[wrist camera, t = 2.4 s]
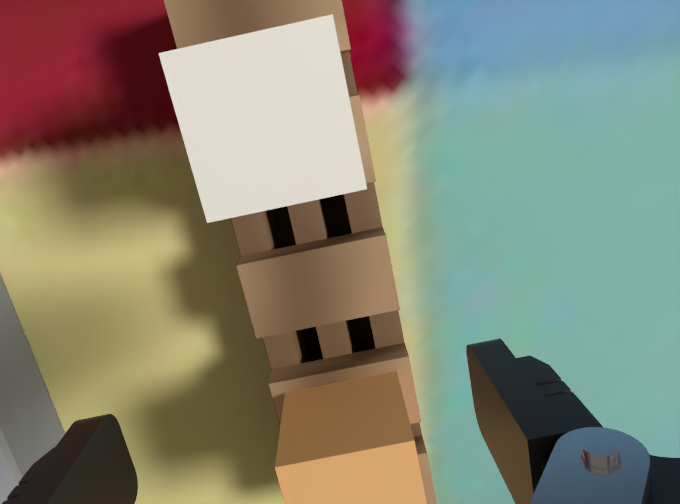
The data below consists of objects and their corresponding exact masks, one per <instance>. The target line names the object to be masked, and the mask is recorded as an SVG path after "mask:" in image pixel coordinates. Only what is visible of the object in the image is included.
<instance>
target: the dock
mask: <svg viewBox="0 0 680 504" xmlns="http://www.w3.org/2000/svg"><path fill="white" fill-rule="evenodd" d="M64 435H65V433H64V430H63V428H62V425H61V423H60V420H59V418H58V416H57V413H56V411H55V408H54V406H53V403H52V401H51V398H50V396H49V393H48V391H47V388H46V386H45V383H44V381H43V378H42V376H41V373H40V371H39V369H38V366H37V364H36V361H35V359H34V356H33V354H32V351H31V349H30V346H29V344H28V341H27V339H26V336H25V334H24V331H23V329H22V327H21V324H20V322H19V319H18V317H17V314H16V312H15V309H14V307H13V304H12V302H11V299H10V297H9V294H8V292H7V289H6V287H5V284H4V282H3V280H2V277H1V275H0V504H2V503H3V502H4V501H6V500H7V497H8V495H9V494H10V493H11V491H12V490H13V489H14V488H15V486H18V485H19V481H20V480H21V479H22V477H23V476H24V475H25V473H26V472H27V471H28V470H29V468H30V467H31V466H32V465H33V464H34V463H35V462H36V461H37V460H39V459H40V458H41V457H42V456H44V455H45V454H46V453H47V452H49V451H50V450H51V449H52V448H54V447H56V445H57V444H58V443H59V441H60V440H61V439H62V437H63V436H64Z"/></svg>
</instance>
